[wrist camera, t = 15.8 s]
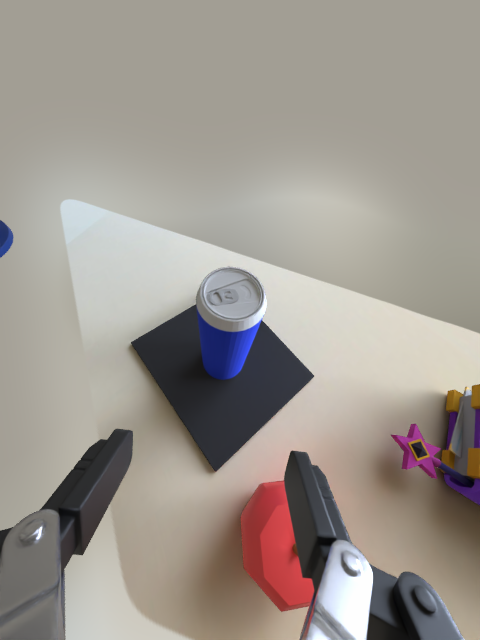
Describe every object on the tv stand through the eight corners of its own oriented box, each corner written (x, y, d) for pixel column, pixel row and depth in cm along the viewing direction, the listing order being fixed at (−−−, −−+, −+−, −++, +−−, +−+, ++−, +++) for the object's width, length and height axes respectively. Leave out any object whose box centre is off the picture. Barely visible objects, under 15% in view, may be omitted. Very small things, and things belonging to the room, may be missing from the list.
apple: (222, 559, 20) (228, 622, 13) (247, 460, 24) (262, 468, 17) (306, 593, 20) (359, 677, 13) (318, 487, 24) (363, 506, 17)
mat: (215, 471, 23) (215, 472, 23) (132, 344, 29) (130, 342, 28) (312, 377, 29) (314, 376, 29) (228, 287, 35) (228, 284, 34)
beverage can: (235, 337, 30) (253, 258, 17) (248, 373, 28) (281, 314, 15) (198, 348, 29) (187, 271, 16) (209, 386, 27) (206, 334, 14)
